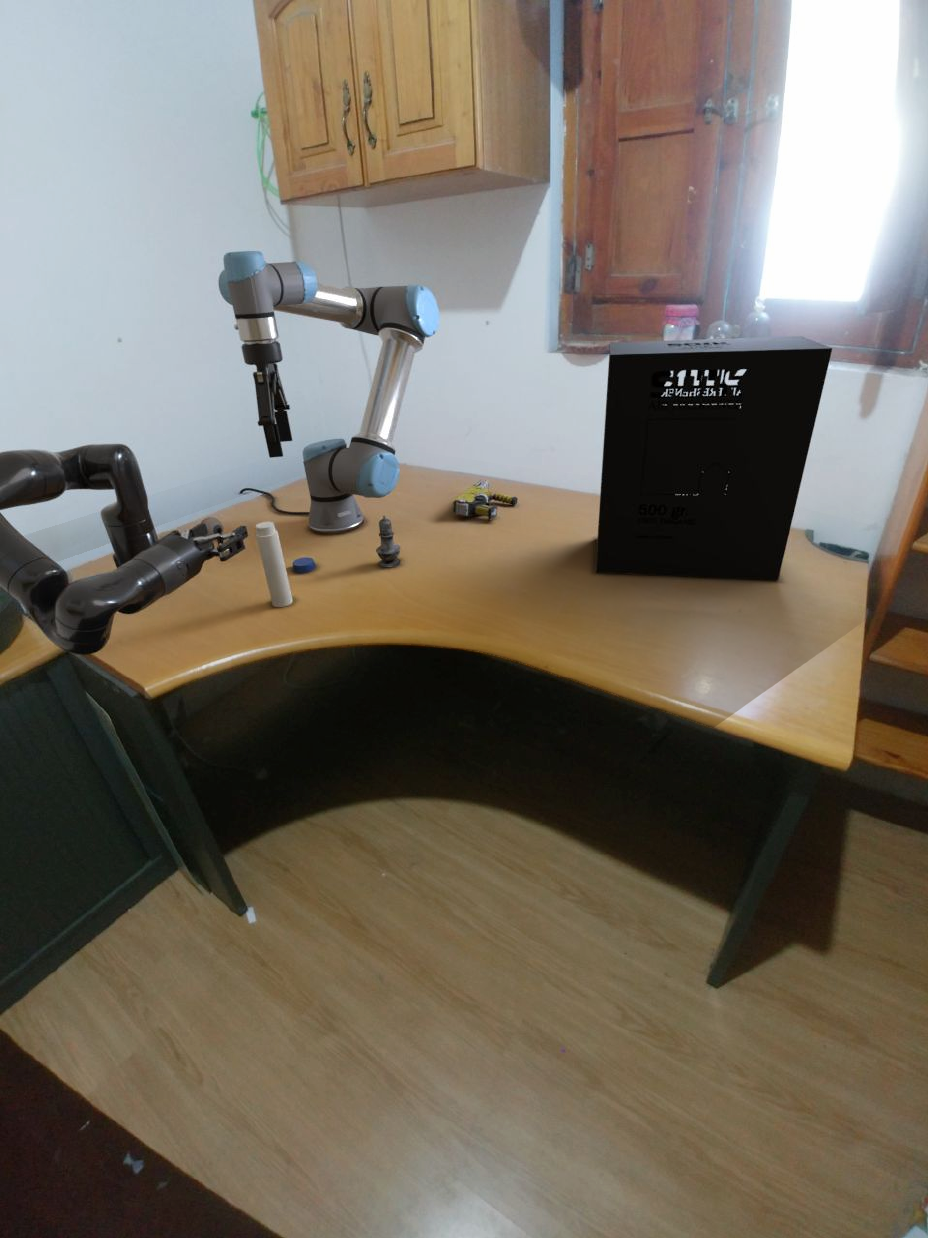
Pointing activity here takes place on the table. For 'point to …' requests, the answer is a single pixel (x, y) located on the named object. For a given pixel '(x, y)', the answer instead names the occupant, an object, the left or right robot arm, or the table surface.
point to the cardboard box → (705, 455)
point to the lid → (303, 565)
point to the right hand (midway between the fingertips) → (281, 448)
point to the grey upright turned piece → (387, 545)
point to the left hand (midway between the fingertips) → (225, 529)
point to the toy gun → (480, 501)
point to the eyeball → (213, 526)
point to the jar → (273, 564)
